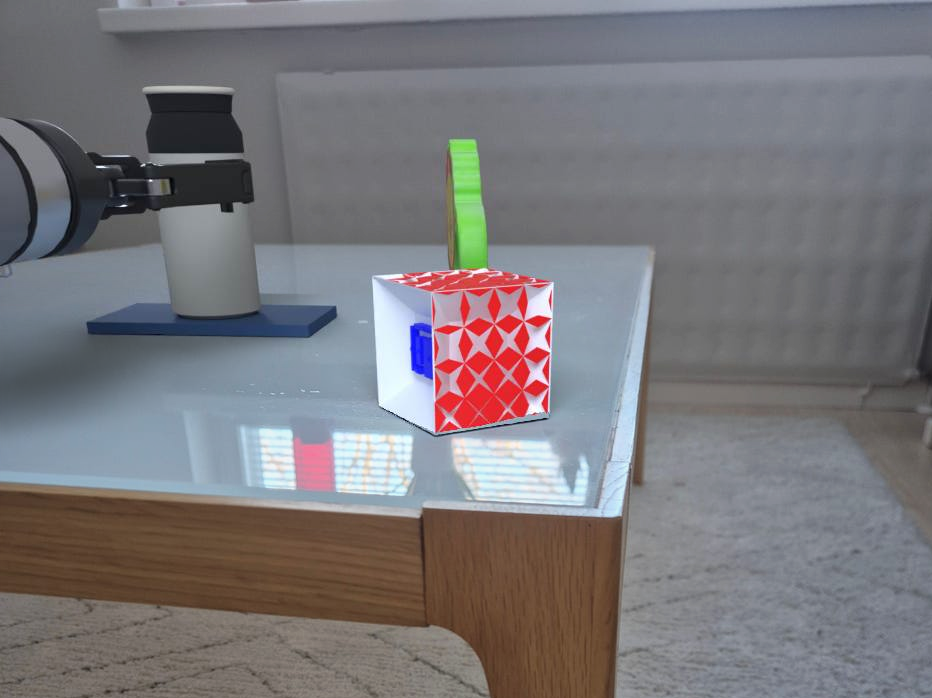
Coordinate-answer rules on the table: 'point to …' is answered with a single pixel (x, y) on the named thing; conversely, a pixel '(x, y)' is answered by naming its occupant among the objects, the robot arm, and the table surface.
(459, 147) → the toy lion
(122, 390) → the table surface
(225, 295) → the travel mug
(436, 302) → the red patterned cube box
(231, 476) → the table surface
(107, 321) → the blue mat
